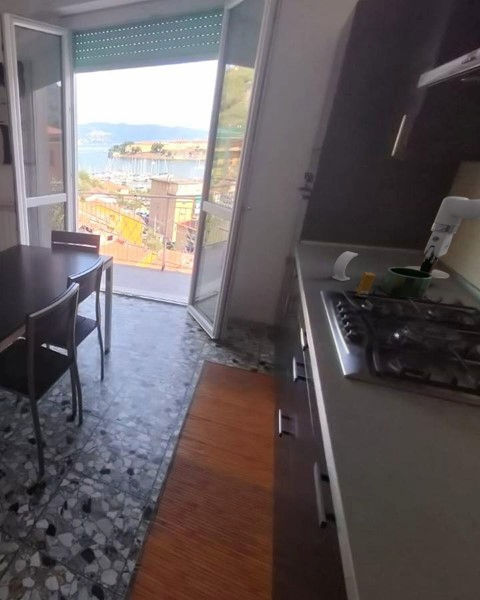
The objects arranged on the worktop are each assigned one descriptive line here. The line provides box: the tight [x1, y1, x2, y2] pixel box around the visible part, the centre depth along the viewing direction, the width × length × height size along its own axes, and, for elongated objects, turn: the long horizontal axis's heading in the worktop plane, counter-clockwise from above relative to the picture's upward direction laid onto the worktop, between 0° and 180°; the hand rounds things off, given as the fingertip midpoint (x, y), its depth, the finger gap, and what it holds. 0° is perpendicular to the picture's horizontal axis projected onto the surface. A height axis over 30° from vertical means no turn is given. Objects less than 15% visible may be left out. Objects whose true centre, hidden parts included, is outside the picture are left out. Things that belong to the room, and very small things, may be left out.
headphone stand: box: [331, 250, 359, 282], centre depth 157 cm, size 5×6×12 cm
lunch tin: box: [380, 266, 433, 300], centre depth 144 cm, size 14×14×8 cm
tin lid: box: [404, 259, 450, 280], centre depth 152 cm, size 15×15×7 cm
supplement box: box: [355, 271, 376, 296], centre depth 139 cm, size 3×3×10 cm
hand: (426, 269), depth 153 cm, fingers closed on tin lid, 4 cm apart
